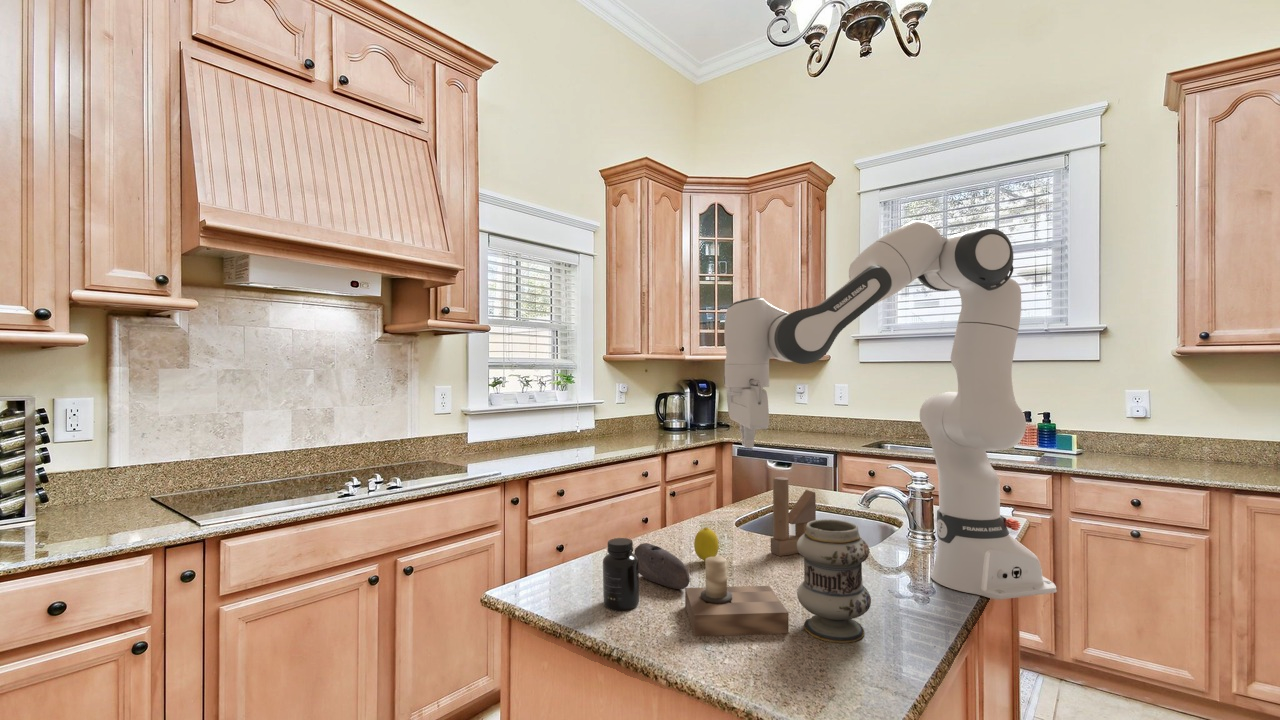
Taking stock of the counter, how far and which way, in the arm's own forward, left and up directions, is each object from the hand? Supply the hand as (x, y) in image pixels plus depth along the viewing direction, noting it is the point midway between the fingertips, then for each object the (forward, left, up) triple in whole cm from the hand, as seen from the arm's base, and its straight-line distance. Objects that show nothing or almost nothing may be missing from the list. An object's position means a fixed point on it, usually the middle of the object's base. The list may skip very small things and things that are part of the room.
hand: (747, 447), depth 121 cm
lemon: (+6, -16, -29) cm, 34 cm away
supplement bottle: (+26, +6, -29) cm, 39 cm away
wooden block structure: (-16, -22, -29) cm, 40 cm away
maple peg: (+9, +13, -28) cm, 32 cm away
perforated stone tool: (+17, -4, -29) cm, 34 cm away
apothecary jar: (-10, +19, -29) cm, 36 cm away
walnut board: (+6, +14, -29) cm, 32 cm away
